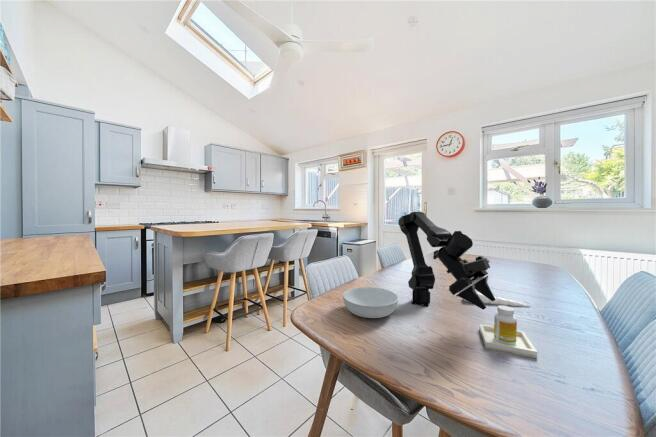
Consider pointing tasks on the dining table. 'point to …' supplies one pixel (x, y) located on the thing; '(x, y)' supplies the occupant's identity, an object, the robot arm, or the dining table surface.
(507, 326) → the supplement bottle
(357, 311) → the serving bowl
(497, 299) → the unicorn horn
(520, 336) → the dish
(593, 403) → the dining table surface
